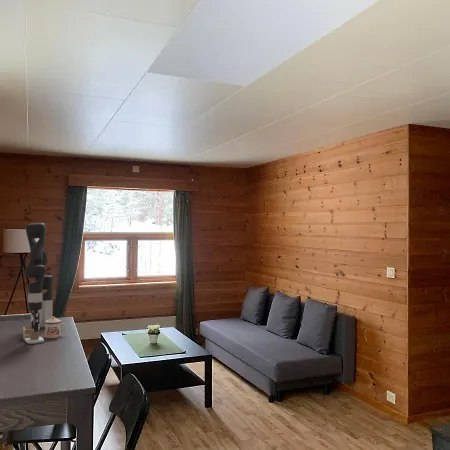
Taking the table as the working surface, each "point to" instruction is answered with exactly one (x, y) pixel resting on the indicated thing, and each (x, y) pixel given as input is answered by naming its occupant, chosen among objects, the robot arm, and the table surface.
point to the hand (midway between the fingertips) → (34, 330)
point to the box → (28, 332)
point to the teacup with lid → (53, 328)
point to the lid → (34, 337)
